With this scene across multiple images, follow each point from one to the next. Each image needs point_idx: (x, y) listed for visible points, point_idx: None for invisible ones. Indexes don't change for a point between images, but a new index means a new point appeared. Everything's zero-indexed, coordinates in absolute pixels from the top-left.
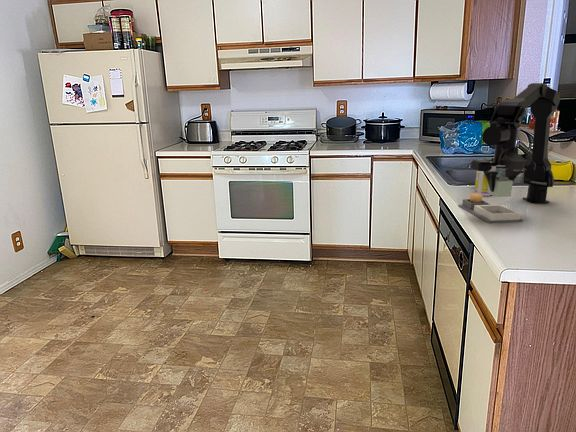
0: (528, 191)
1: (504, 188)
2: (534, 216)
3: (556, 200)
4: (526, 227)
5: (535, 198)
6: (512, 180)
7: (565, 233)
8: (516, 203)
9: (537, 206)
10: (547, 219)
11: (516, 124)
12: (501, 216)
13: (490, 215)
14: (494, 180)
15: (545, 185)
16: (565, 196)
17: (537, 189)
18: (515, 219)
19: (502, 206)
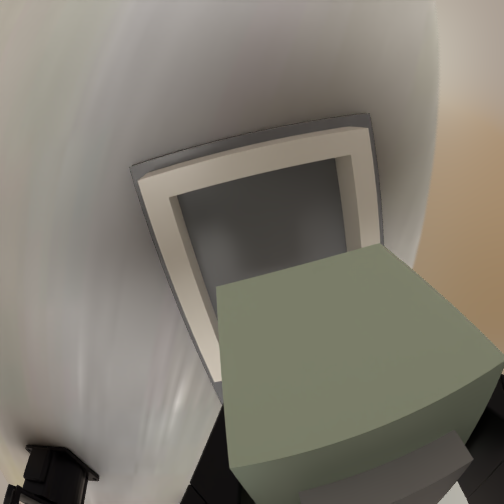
0: (81, 493)
1: (350, 319)
2: (51, 295)
3: (16, 455)
4: (149, 44)
5: (58, 463)
6: (204, 501)
7: (4, 12)
8: (118, 451)
9: (49, 422)
10: (3, 249)
11: None
12: (288, 139)
13: (365, 141)
14: (498, 402)
15: (24, 493)
16: (9, 471)
17: (50, 489)
18: (175, 165)
19: (217, 347)
